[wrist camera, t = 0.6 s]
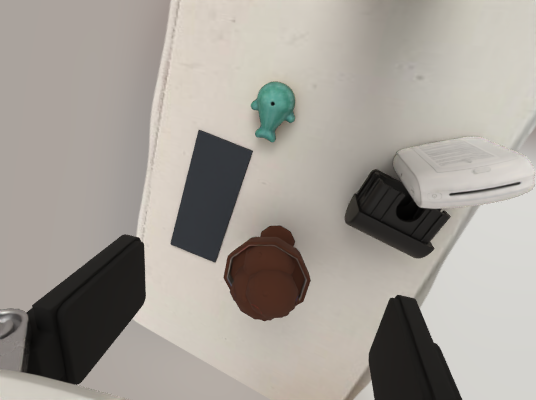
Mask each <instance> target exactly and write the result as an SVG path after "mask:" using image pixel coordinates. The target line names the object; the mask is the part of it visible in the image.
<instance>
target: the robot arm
mask: <svg viewBox="0 0 536 400" xmlns="http://www.w3.org/2000/svg"><path fill="white" fill-rule="evenodd" d="M145 297H146V292H145V259H144V243H143V242H141V240H140V238H138V237H134V236H130V235H122V236H121V237H119V238H118V239H117V240H116V241H114V242H113V243H112V244H110V245H109V246H108V247H106V248H105V249H104V250H103V251H101V252H100V253H99V254H97V255H96V256H95V257H94V258H92V259H91V260H90V261H88V262H87V263H86V264H85V265H84V266H82V267H81V268H79V269H78V270H77V271H76V272H74V273H73V274H72V275H70V276H69V277H68V278H67V279H65V280H64V281H63V282H61V283H60V284H59V285H58V286H56V287H55V288H54V289H53V290H51V291H50V292H49V293H47V294H46V295H45V296H44V297H42V298H41V299H40V300H38V301H37V302H36V303H35V304H33V305H32V307H33V308H32V309H30V310H29V311H28V312H27V313H26V312H25V311H23V310H20V309H3V310H0V400H129V399H125V398H121V397H118V396H114V395H111V394H107V393H104V392H100V391H96V390H92V389H89V388H85V387H81V386H78V385H77V384H79V383H81V382H82V381H83V380H84V378H85V377H86V376H87V375H88V373H89V372H90V371H91V369H92V368H93V367H94V366H95V364H96V363H97V362H98V361H99V360H100V358H101V357H102V356H103V355H104V353H105V352H106V351H107V350H108V348H109V347H110V346H111V344H112V343H113V342H114V341H115V339H116V338H117V337H118V336H119V335H120V333H121V332H122V331H123V329H124V328H125V327H126V326H127V325H128V323H129V322H130V321H131V319H132V318H133V317H134V316H135V314H136V313H137V312H138V311H139V309H140V308H141V307H142V306H143V304H144V301H145ZM369 366H370V373H371V379H372V385H373V391H374V398H375V400H462V398H461V396H460V394H459V391H458V389H457V386H456V384H455V382H454V379H453V377H452V375H451V372H450V370H449V368H448V365H447V363H446V361H445V358H444V356H443V354H442V351H441V349H440V347H439V346H438V345H437V344H436V343H434V342H433V340H432V338H431V336H430V333H429V331H428V328H427V326H426V323H425V321H424V318H423V316H422V313H421V311H420V309H419V306H418V304H417V301H416V300H415V299H414V298H410V297H405V296H401V295H397V296H396V297H395V298H390V300H389V302H388V305H387V307H386V310H385V312H384V315H383V318H382V320H381V323H380V325H379V328H378V331H377V333H376V336H375V339H374V341H373V344H372V346H371V349H370V352H369ZM75 384H76V385H75Z"/></svg>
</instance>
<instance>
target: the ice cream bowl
mask: <svg viewBox="0 0 536 400" xmlns="http://www.w3.org/2000/svg"><path fill="white" fill-rule="evenodd" d="M294 243H295V240H294V238H293V236H292V234H291V232H290V231H288V230H287V229H285V228H283V227H282V226H269V227H268V228H266V229H265V230H264V231H262V232H261V236H260V237H253V238H251V239H249V240H248V241H246V242H245V243H244V244H242V245H241V246H239V247H238V248H237V249H235V250H234V251H233V252H232V253H231V254H230V255H228V258H227V263H226V268H225V273H224V280H225V281H226V283H227V285H228V287H229V289H230V293H231V295H232V298H233V300H234V301H235V302H236V303H237V305H238V307H239V308H240V310H241V311H242V312H243V313H245V314H247V315H248V316H250V317H252V318H253V319H260V320H263V321H267V320H272V319H274V318H282V317H284V316H287V315H288V314H289V312H290V311H292V310H293V309H294V308H295V306H296V305H298V304H300V303H302V302H303V301H304V298H305V295H306V292H307V289H308V286H309V284H310V281H311V280H310V276H309V272H308V270H307V268H306V266H305V263H304V261H303V259H302V257H301V254H300V252H299V251H298V250H297V249H296V248H294V247H293V246H294Z"/></svg>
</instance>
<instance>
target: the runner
mask: <svg viewBox="0 0 536 400" xmlns="http://www.w3.org/2000/svg"><path fill="white" fill-rule="evenodd" d="M252 152H253V151H251V150H249V149H246V148H244V147H241V146H239V145H236V144H234V143H231V142H229V141H226V140H224V139H221V138H219V137H216V136H214V135H211V134H209V133H206V132H204V131H201V130H199V131H198V135H197V139H196V143H195V147H194V151H193V155H192V159H191V163H190V167H189V171H188V175H187V179H186V183H185V187H184V192H183V196H182V200H181V204H180V208H179V212H178V216H177V220H176V224H175V228H174V232H173V236H172V240H171V245H173V246H176V247H178V248H181V249H183V250H186V251H188V252H191V253H193V254H196V255H198V256H200V257H203V258H205V259H208V260H210V261H213V262H216V259H217V256H218V253H219V250H220V247H221V244H222V241H223V238H224V235H225V232H226V229H227V226H228V223H229V220H230V217H231V214H232V211H233V208H234V205H235V202H236V199H237V196H238V193H239V190H240V188H241V185H242V182H243V179H244V176H245V173H246V170H247V167H248V164H249V161H250V158H251V155H252Z"/></svg>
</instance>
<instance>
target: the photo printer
mask: <svg viewBox="0 0 536 400" xmlns="http://www.w3.org/2000/svg"><path fill="white" fill-rule="evenodd" d="M396 153H397V154H396V156H395V157H394V160H393V167H394V170H395V171H396V173H397V175H398V176H399V178H400V180H401V182H402V183H403V185H404V186H405V188H406V189H407V191H408V192H409V194H410V195H411V197H412V198H413V200H414V201H415V203H416V204H417V205H418V206H419V207H421V208H430V209H444V208H458V207H468V206H475V205H482V204H488V203H494V202H498V201H503V200H507V199H511V198H514V197H517V196H520V195H523V194H525V193H527V192H529V191H531V190H532V189H533V188H534V186H535V183H534V178H535V174H536V172H535V169H534V167H533V164H532V163H531V162H530V160H529V159H528V158H527V157H526V156H524V155H522V154H520V153H518V152H515V151H513V150H511V149H508V148H506V147H503V146H501V145H498V144H496V143H494V142H491V141H489V140H487V139H485V138H482V137H477V136H471V137H462V138H455V139H450V140H444V141H439V142H433V143H428V144H423V145H418V146H414V147H409V148H405V149H402V150H400V151H397V152H396Z"/></svg>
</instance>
